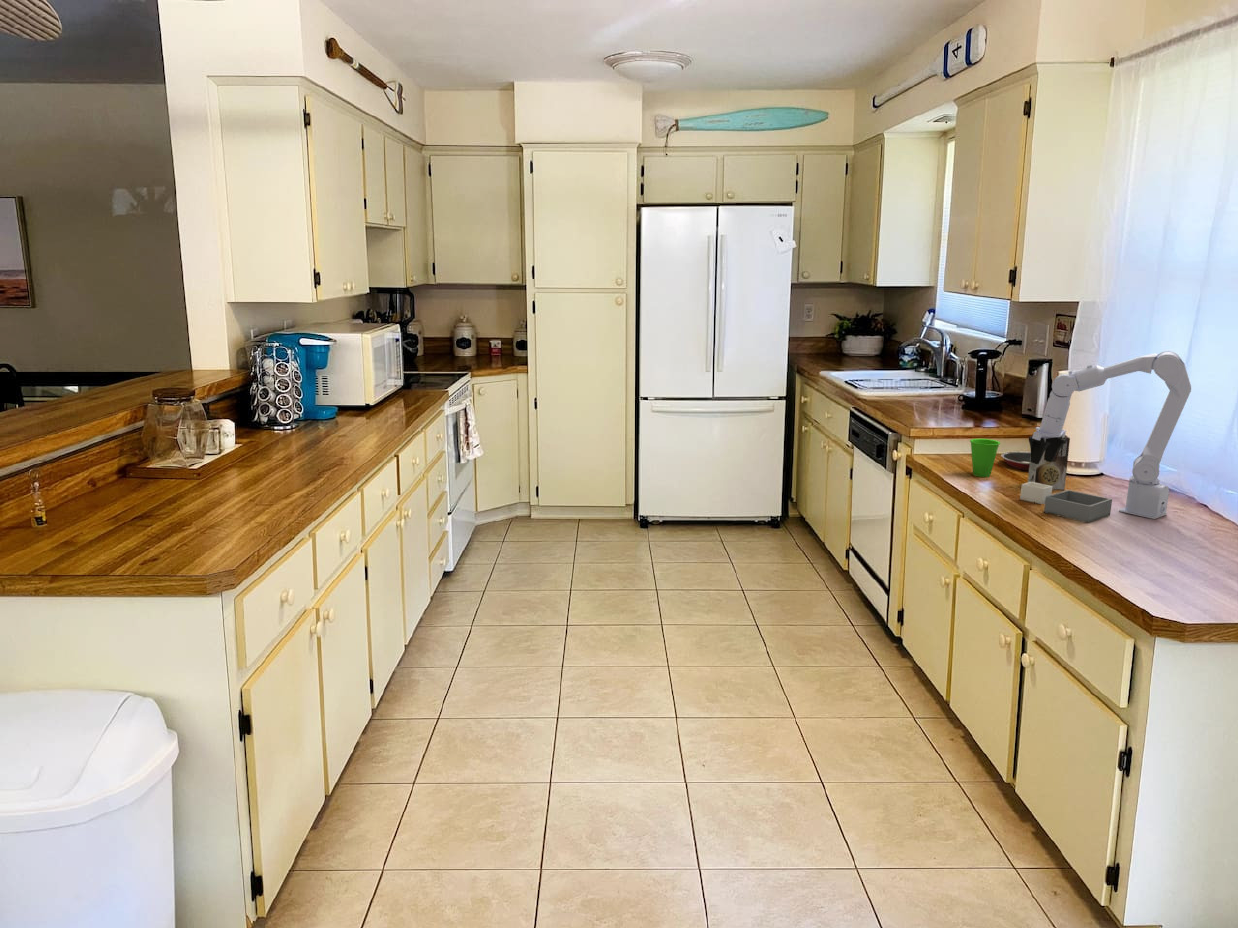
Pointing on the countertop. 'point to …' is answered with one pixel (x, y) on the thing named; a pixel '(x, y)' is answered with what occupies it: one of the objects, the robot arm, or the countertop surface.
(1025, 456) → the frying pan
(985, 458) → the cup
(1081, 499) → the grey shallow square box
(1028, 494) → the white crate
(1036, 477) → the coffee box
